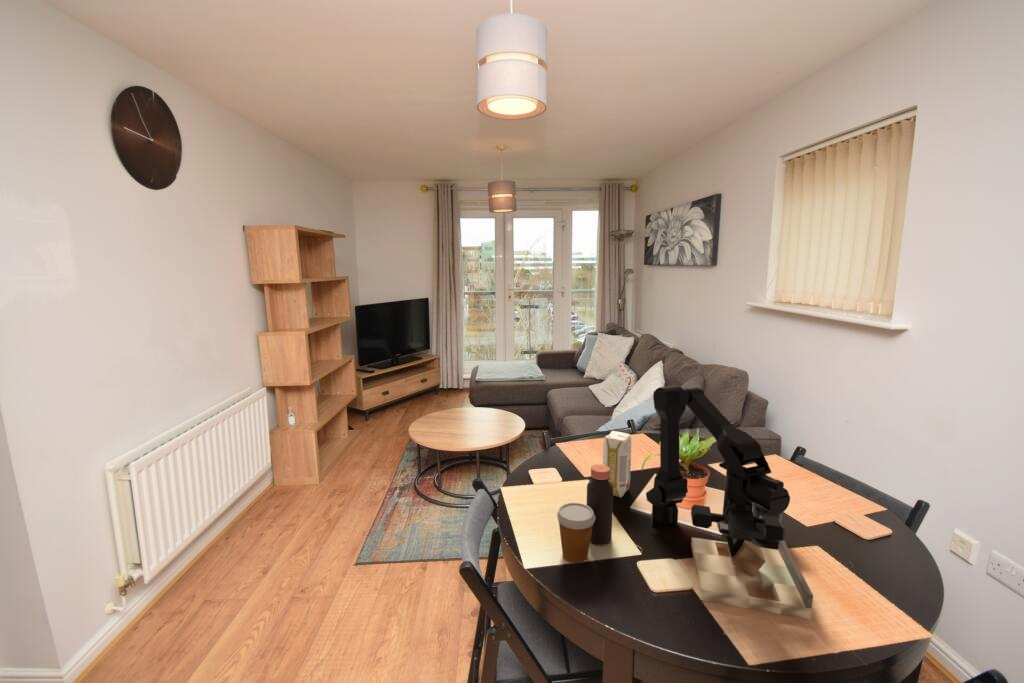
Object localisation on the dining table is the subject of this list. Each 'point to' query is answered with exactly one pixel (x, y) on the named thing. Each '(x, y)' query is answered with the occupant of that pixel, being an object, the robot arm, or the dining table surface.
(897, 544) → the dining table surface
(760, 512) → the supplement bottle
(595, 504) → the black water bottle
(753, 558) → the walnut block
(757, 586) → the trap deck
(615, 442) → the juice carton
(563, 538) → the disposable coffee cup
